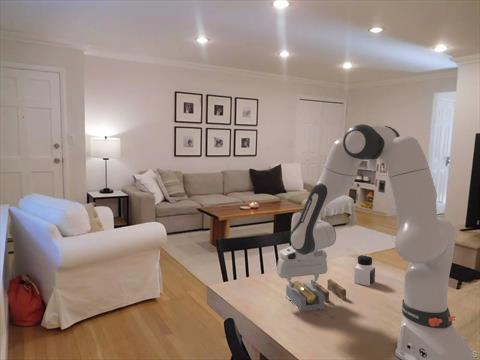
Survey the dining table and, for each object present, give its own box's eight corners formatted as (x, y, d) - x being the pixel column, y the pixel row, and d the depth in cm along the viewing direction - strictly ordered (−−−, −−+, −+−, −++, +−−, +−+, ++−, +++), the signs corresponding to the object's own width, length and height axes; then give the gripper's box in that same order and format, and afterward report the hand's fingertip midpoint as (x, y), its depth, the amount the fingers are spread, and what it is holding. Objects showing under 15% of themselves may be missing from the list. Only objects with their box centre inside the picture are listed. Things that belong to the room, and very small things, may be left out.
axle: (317, 303, 130) (316, 293, 129) (307, 305, 129) (306, 295, 128) (301, 289, 143) (300, 280, 143) (292, 291, 142) (291, 281, 142)
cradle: (324, 308, 130) (324, 295, 130) (300, 312, 128) (300, 298, 127) (307, 294, 144) (307, 282, 143) (286, 296, 141) (286, 284, 141)
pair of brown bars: (346, 299, 138) (346, 289, 138) (325, 302, 136) (325, 292, 136) (330, 288, 150) (330, 279, 149) (311, 290, 148) (311, 281, 147)
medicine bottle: (370, 286, 151) (370, 259, 150) (353, 283, 156) (354, 256, 155) (375, 281, 157) (375, 255, 156) (359, 278, 161) (359, 253, 160)
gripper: (322, 247, 142) (322, 280, 143) (275, 251, 137) (275, 285, 138) (330, 251, 136) (330, 286, 137) (281, 256, 131) (281, 292, 132)
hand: (302, 286), depth 137 cm, fingers open, 8 cm apart
